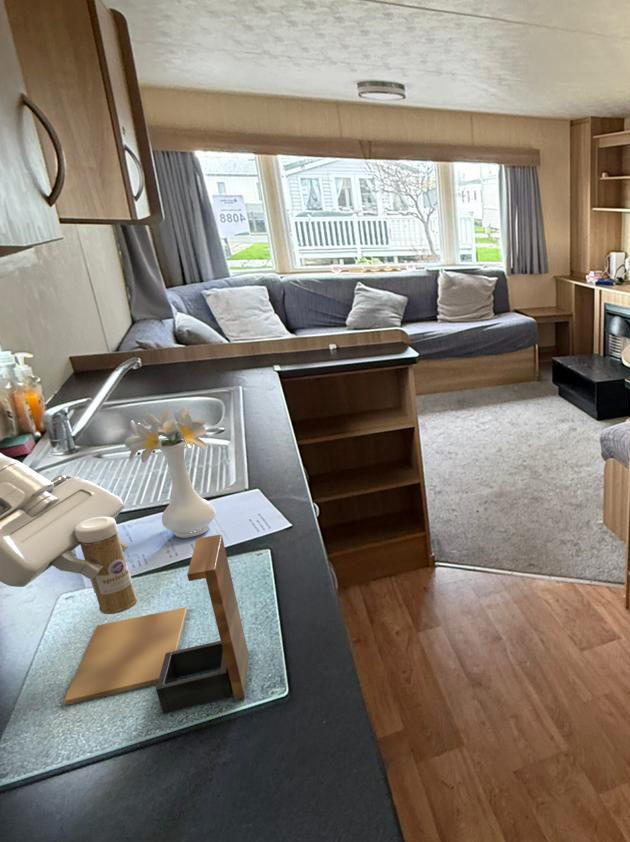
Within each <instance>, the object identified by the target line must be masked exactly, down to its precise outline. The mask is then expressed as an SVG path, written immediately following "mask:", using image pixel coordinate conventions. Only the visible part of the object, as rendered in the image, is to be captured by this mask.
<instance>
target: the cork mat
mask: <svg viewBox="0 0 630 842" xmlns="http://www.w3.org/2000/svg"><path fill="white" fill-rule="evenodd" d="M187 615H188V608H187V606H186V607H180V608H175V609H171V610H170V609H169V610H167V611H161V612H155V613H151V614H146V615H141V616H136V617H131V618H125V619H121V620H116V621H112V622H106V623H102V624H97V626H96V628H95V630H94V631H93V634H92V637H91V639H90V641H89V643H88V646H87V648H86V649H85V652H84V654H83V657H82V659H81V661H80V663H79V666H78V668H77V669H76V670H77V671H76V673H75V674H74V677H73V679H72V681H71V684H70V686H69V689H68V690H67V692H66V695H65V697H64V700H63V703H64V706H69V705H75V704H77V703H81V702H86V701H91V700H95V699H99V698H103V697H107V696H111V695H115V694H120V693H123V692H127V691H132V690H136V689H141V688H145V687H149V686H153V685H157V684H158V680H159V676H160V672H161V669H162V665H163V661H164V657H165V654H166V653H168V652H172V651H177V650H179V648H180V643H181V639H182V636H183V631H184V628H185V623H186V619H187Z"/></svg>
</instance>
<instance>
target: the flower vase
mask: <svg viewBox="0 0 630 842" xmlns="http://www.w3.org/2000/svg"><path fill="white" fill-rule="evenodd" d="M170 416H171V409H165V410H164V411H162V412H161V414H159V417H158V418H157V417H156V416H155V415H153V414H151V413H148V412H147V413H144V414H142V417H141V419H142V421H143V423H144V424H145V425H144V424H143V423H141V422H138V423H137V424H136V422H135V421H134V420H133V419H131V420H130V423H129V425H130V430H131V432H132V434H133V435H132V436H129V437H127V438H126V439H125V442H124V445H125V447H126V448H128V450H129V451H130V453H129V461H131V460H132V459H133V458H134V456H136V454H137V452H139V451H141V450H142V452H141V454H140V460H141V462H142V463H146V462H147V460H148V459H149V458H150V456H151V455H152V453H153V452H154V451H158V450H160V451H161V453H162V456H163V457H164V459H165V462H166V464H167V468H168V472H169V477H170V483H171V489H172V491H171V492H172V493H171V499H170V503H169V504H168V505H167V506H166V508H165V509H164V511H163V512H162V515H161V524H162V526H163V527H164V529H166V530H168V531H170V532H173V533H174V536H175V537H178V538H182V539H184V538H186V539H187V538H193V537H197V536H201V535H203V534H204V533H207V532H208V531H209V530H210V528H211V524H212V523H213V521H214V520H215V518H216V515H217V511H216V508H215V506H214V505H213V504H212V503H211V502H210V501H208V500H207V499H205V498H203V497H201V496H200V495H199V494H198V493H197V491H196V490H195V488H194V486H193V484H192V482H191V478H190V475H189V471H188V467H187V464H186V458H185V456H186V455H185V447H187V448H188V449H192V448H193V447H194V446H196V447H198V448H200V449H202V450H204V451H206V450H207V449H208V446H207V444H206V443H205V441H204V440H202V439H208V436H207V435H206V433H207V428H206V427H205V426H204V425H206V421H205V420H204V419H201V418H194V419H192V417H191V416H190V414H189V411H188V410H187V408H185V407H182V408H180V409H179V410H178V412H177V411H176V412H174V415H173V416H174V419H173V418H170ZM160 436H161V437H165V438H166V439H160ZM200 529H201V530H200ZM198 530H199V531H198ZM194 531H196V532H194ZM190 532H192V533H190Z"/></svg>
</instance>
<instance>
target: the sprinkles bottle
mask: <svg viewBox="0 0 630 842" xmlns="http://www.w3.org/2000/svg"><path fill="white" fill-rule="evenodd" d="M74 531H75V535H76V538H77V540H78V541H79V543H80V545H79V546H80V548H81V551H82V555H83V557H84V560H85V561H89V562H90V561H91V560H92V559H94V560H96V561H97V562H98V563H100V564H102V565H103V566H104V568H103V570H102V571H101V572H100V573H99V574H98V575H97V576H95V577H94V578H93V579H89V580H90V583H91V586H92V589H93V592H94V594H95V596H96V599H97V602H98V606H99V611H100V613H101V614H103V615H115V614H121V613H123V612H125V611H127V610H130V609H131V608H133V607H134V606H136V604H137V603H138V597H137V596H136V593H135V589H134V586H133V580H132V576H131V573H130V570H129V566H128V563H127V560H126V557H125V553H123V551H122V547H121V544H120V541H121V540H120V537H119V529H118V524H117V522H116V518H111V517H97V518H92V519H89V520H86V521H83V522H81V523H79V524H78V525H77V526H76V527H75V529H74ZM119 540H120V541H119Z"/></svg>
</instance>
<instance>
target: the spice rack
mask: <svg viewBox="0 0 630 842" xmlns="http://www.w3.org/2000/svg"><path fill="white" fill-rule="evenodd" d="M186 576H187V579H188V582H192V581H197V580H203V579H205V582H206V585H207V591H208V594H209V598H210V601H211V606H212V610H213V614H214V618H215V623H216V627H217V631H218V635H219V639H220V640H216V641H212V642H207V643H204V644H200V645H195V646H191V647H186V648H180V649H178V650H177V651H172V652H168V653H166V654H165V657H164V661H163V665H162V669H161V672H160V676H159V680H158V684H156V688H155V692H156V695H157V699H158V702H159V705H160V709H161V713H162V714H163V715H165V714H168V713H173V712H177V711H180V710H181V711H182V710H184V709H188V708H192V707H196V706H200V705H204V704H208V703H212V702H217V701H220V700H224V699H228V698H231V697H233V698H234V701H238V700H241V699H245V698H246V690H247V689H246V687H247V679H248V678H247V677H248V664H249V649H248V646H247V641H246V636H245V632H244V628H243V623H242V618H241V615H240V609H239V605H238V601H237V597H236V592H235V587H234V583H233V578H232V574H231V569H230V565H229V561H228V556H227V552H226V546H225V542H224V538H223V535H222V534H221V533H220V534H215V535H210V536H203V537H198V538H196V541H195V544H194V548H193V552H192V555H191V559H190V563H189V567H188V570H187V574H186ZM217 669H219V670H217ZM212 670H217V671H214V672H210V673H205V674H200V673H204V672H208V671H212ZM195 674H200V675H197V676H192V677H188V678H184V679H179V678H183V677H187V676H191V675H195ZM178 679H179V680H178Z"/></svg>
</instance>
